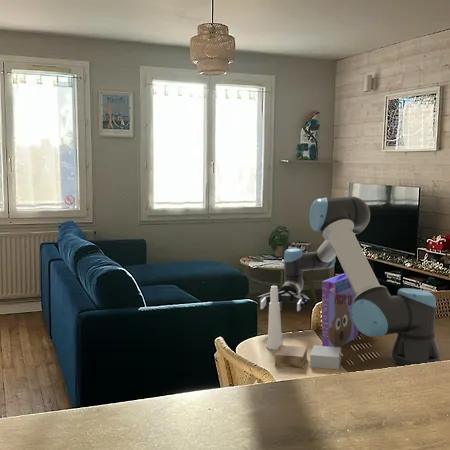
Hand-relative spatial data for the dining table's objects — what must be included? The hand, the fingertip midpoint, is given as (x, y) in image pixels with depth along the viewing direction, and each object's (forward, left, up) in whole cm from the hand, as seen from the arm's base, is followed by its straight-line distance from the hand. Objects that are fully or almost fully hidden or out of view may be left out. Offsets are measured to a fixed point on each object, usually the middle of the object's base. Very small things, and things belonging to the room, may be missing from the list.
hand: (279, 306), depth 207 cm
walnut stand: (-8, +23, -12) cm, 27 cm away
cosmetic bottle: (0, +10, -12) cm, 16 cm away
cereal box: (-22, 0, -12) cm, 25 cm away
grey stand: (-19, +21, -12) cm, 30 cm away
